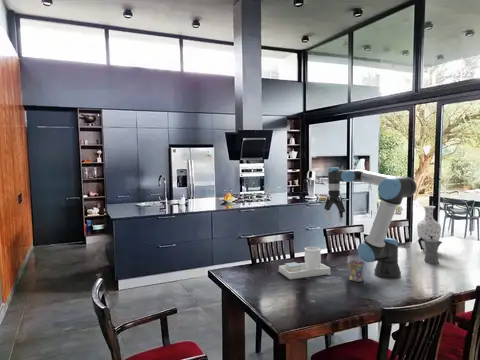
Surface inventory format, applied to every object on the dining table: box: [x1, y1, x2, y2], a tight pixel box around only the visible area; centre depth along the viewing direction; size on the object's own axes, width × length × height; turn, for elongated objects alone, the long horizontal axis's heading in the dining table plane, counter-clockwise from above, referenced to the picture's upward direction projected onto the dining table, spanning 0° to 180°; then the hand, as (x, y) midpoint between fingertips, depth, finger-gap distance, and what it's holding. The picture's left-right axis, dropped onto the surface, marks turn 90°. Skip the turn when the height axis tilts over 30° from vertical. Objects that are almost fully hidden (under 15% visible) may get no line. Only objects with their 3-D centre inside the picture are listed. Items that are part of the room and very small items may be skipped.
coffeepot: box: [417, 236, 443, 264], centre depth 241 cm, size 15×9×18 cm, turn 44°
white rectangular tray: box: [278, 262, 331, 280], centre depth 220 cm, size 16×28×4 cm, turn 108°
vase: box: [416, 205, 442, 253], centre depth 267 cm, size 16×16×35 cm
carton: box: [284, 264, 300, 272], centre depth 217 cm, size 7×7×6 cm
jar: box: [304, 246, 322, 270], centre depth 221 cm, size 11×10×15 cm
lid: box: [284, 261, 301, 268], centre depth 217 cm, size 8×8×1 cm
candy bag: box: [346, 259, 366, 282], centre depth 207 cm, size 12×9×11 cm
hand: (334, 220), depth 236 cm, fingers open, 13 cm apart
